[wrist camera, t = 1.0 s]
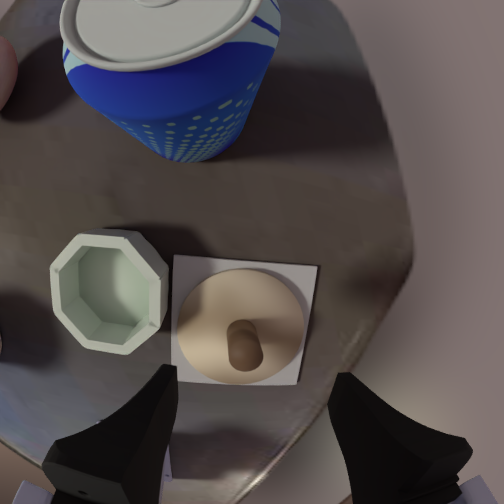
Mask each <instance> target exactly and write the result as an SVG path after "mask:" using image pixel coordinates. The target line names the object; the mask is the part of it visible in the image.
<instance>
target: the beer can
mask: <svg viewBox="0 0 504 504" xmlns="http://www.w3.org/2000/svg"><path fill="white" fill-rule="evenodd" d="M280 27H281V18H280V11H279V6H278V3H277V1H276V0H65V1H64V4H63V7H62V10H61V15H60V31H61V36H62V39H63V41H64V44H63V62H64V68H65V72H66V75H67V77H68V80H69V82H70V84H71V85H72V87H73V89H74V90H75V91H76V93H77V94H78V95H79V96H80V97H81V98H82V99H83V100H84V101H85V102H86V103H87V104H89V105H90V106H92V107H93V108H94V109H96V110H97V111H99V112H100V113H101V114H103V115H104V116H106V117H107V118H108V119H110V120H111V121H113V122H114V123H115V124H117V125H118V126H120V127H121V128H122V129H124V130H125V131H127V132H128V133H129V134H131V135H132V136H133V137H135V138H136V139H138V140H139V141H140V142H142V143H143V144H144V145H146V146H147V147H149V148H150V149H151V150H153V151H154V152H155V153H157V154H158V155H160V156H162V157H164V158H166V159H169V160H172V161H177V162H198V161H203V160H206V159H209V158H212V157H214V156H216V155H218V154H220V153H221V152H223V151H224V150H226V149H227V148H228V147H229V146H230V145H231V144H232V143H233V142H234V141H235V140H236V139H237V137H238V136H239V134H240V133H241V131H242V129H243V127H244V124H245V122H246V119H247V117H248V114H249V112H250V109H251V107H252V104H253V102H254V99H255V97H256V94H257V92H258V89H259V87H260V84H261V82H262V79H263V77H264V75H265V72H266V70H267V68H268V65H269V63H270V60H271V58H272V56H273V53H274V51H275V49H276V46H277V43H278V39H279V34H280Z"/></svg>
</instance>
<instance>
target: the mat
mask: <svg viewBox="0 0 504 504" xmlns="http://www.w3.org/2000/svg"><path fill="white" fill-rule="evenodd" d="M236 268H248V269H255V270H259V271H263V272H265V273H268V274H270V275H272V276H274V277H275V278H277V279H279V280H280V281H281V282H282V283H284V284H285V285H286V286H287V287H288V288H289V289H290V291H291V292H292V293H293V295H294V296H295V297H296V299H297V301H298V303H299V305H300V307H301V310H302V313H303V318H304V333H303V338H302V342H301V344H300V347H299V349H298V351H297V353H296V354H295V356H294V357H293V359H292V360H291V361H290V362H289V363H288V364H287V365H286V367H284V368H283V369H282V370H281V371H279V372H278V373H276V374H275V375H273V376H271V377H269V378H267V379H265V380H262V381H259V382H255V383H251V384H239V385H296V383H297V378H298V374H299V369H300V364H301V359H302V354H303V349H304V344H305V338H306V333H307V327H308V322H309V316H310V310H311V304H312V298H313V292H314V286H315V280H316V273H317V266H313V265H300V264H287V263H274V262H261V261H249V260H236V259H224V258H211V257H199V256H187V255H175V254H174V262H173V284H172V326H171V358H172V365H175V366H177V378H178V381H186V382H198V383H213V384H227V383H222V382H218V381H215V380H213V379H211V378H208V377H206V376H205V375H203V374H202V373H200V372H199V371H198V370H196V369H195V368H194V367H193V366H192V365H191V364H190V363H189V361H188V360H187V359H186V357H185V356H184V354H183V352H182V350H181V347H180V345H179V341H178V336H177V322H178V317H179V313H180V310H181V307H182V305H183V302H184V301H185V299H186V297H187V296H188V294H189V293H190V292H191V290H192V289H193V288H194V287H195V286H196V285H197V284H198V283H200V282H201V281H203V280H204V279H205V278H207V277H209V276H211V275H213V274H215V273H218V272H220V271H224V270H228V269H236ZM234 385H236V384H234Z"/></svg>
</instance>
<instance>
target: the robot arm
mask: <svg viewBox="0 0 504 504" xmlns="http://www.w3.org/2000/svg"><path fill="white" fill-rule="evenodd" d="M177 405H178V378H177V366H175V365H167V364H163V365H161V366H160V368H159V369H158V370H157V372H156V373H155V374H154V375H153V376H152V378H151V379H150V380H149V381H148V382H147V383H146V384H145V385H144V386H143V388H142V389H141V390H140V391H139V392H138V393H137V394H136V395H135V396H134V397H132V398H131V399H130V400H129V401H128V402H127V403H126V404H125V405H123V406H122V407H121V408H120V409H118V410H117V411H116V412H114V413H113V414H112V415H110V416H109V417H107V418H105V419H104V420H102V421H97V423H96V425H94V426H92V427H90V428H88V429H85V430H83V431H81V432H79V433H76V434H74V435H71V436H68V437H65V438H62V439H59V440H55V442H54V444H53V445H52V446H51V448H50V449H49V451H48V453H47V455H46V457H45V459H44V461H43V463H42V469H43V471H44V473H45V475H46V476H47V478H48V479H49V480H50V482H51V483H52V484H53V486H54V487H55V488H56V492H55V494H54V495H53V494H51V493H50V492H48V491H47V490H45V489H43V488H40V487H38V486H36V485H34V484H32V483H30V482H28V481H26V480H23V481H22V483H21V486H20V488H19V490H18V492H17V494H16V496H15V498H14V500H13V503H12V504H161V501H162V492H163V484H164V481H166V482H171V481H172V472H171V464H170V454H169V445H168V443H169V440H170V436H171V433H172V429H173V426H174V422H175V418H176V412H177ZM327 405H328V410H329V415H330V419H331V423H332V426H333V429H334V432H335V435H336V437H337V440H338V443H339V446H340V448H341V451H342V454H343V456H344V460H345V463H346V467H347V471H348V476H349V481H350V486H351V492H352V500H353V504H498V503H497V501H496V500H495V498H494V496H493V495H492V493H491V491H490V490H489V488H488V487H487V485H486V483H485V482H484V480H483V479H482V477H481V476H480V475H478V476H476V477H474V478H472V479H470V480H468V481H466V482H465V483H463V484H462V485H460V486H458V484H457V483H456V482H458V480H459V477H458V476H457V473H458V472H459V471H460V470H461V469H462V468H463V467H464V465H465V464H466V463H467V462H468V460H469V459H470V457H471V456H472V453H473V449H472V448H471V446H470V445H469V444H468V442H467V441H466V439H465V438H462V437H458V436H454V435H449V434H446V433H443V432H440V431H437V430H434V429H431V428H429V427H427V426H424V425H422V424H420V423H418V422H416V421H414V420H412V419H410V418H408V417H407V416H405V415H403V414H402V413H400V412H399V411H397V410H396V409H394V408H393V407H391V406H390V405H388V404H387V403H386V402H385V401H383V400H382V399H381V398H380V397H378V396H377V395H376V394H375V393H374V392H372V391H371V390H370V389H369V388H368V387H367V386H365V385H364V384H363V383H362V382H361V381H359V379H357V378H356V377H355V376H354V375H353V374H351V373H350V372H346V373H338V374H337V377H336V380H335V383H334V386H333V389H332V392H331V395H330V398H329V401H328V404H327Z"/></svg>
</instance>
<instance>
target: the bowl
mask: <svg viewBox="0 0 504 504" xmlns="http://www.w3.org/2000/svg"><path fill="white" fill-rule="evenodd" d="M168 275H169V268H168V265H167V264H166V263H165V262H164V261H163V259H162V258H161V257H160V255H159V253H158V252H157V251H156V249H155V248H154V247H153V246H152V245H151V244H150V243H149V242H148V241H147V240H146V239H145V238H144V237H143V236H142V235H141V233H140V232H138V231H128V230H121V229H101V228H97V229H93V230H90V231H86V232H83V233H80V234H77V236H76V237H75V238H74V239H73V240H72V241H71V242H70V243H69V244H68V246H67V247H66V248H65V249H64V250H63V251H62V253H61V254H60V255H59V256H58V257H57V258H56V260H55V261H54V262H53V263H52V264H51V267H50V279H51V292H52V303H53V312H55V313H54V314H55V315H56V316H57V317H58V319H59V320H60V321H61V322H62V323H63V325H64V326H65V327H66V328H67V329H68V330H69V331H70V332H71V334H72V335H73V336H74V337H75V338H76V339H77V340H78V341H79V342H80V343H81V345H82V346H83V347H85V348H88V349H93V350H99V351H104V352H110V353H117V354H123V355H127V354H130V353H131V352H132V351H133V350H135V349H136V348H137V347H138V346H139V345H141V344H142V343H143V342H144V341H145V340H147V339H148V338H149V337H150V336H152V335H153V334H154V333H155V332H156V331H158V330H159V329H160V327H161V324H162V322H163V319H164V317H165V314H166V312H167V310H168V290H169V280H168Z"/></svg>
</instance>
